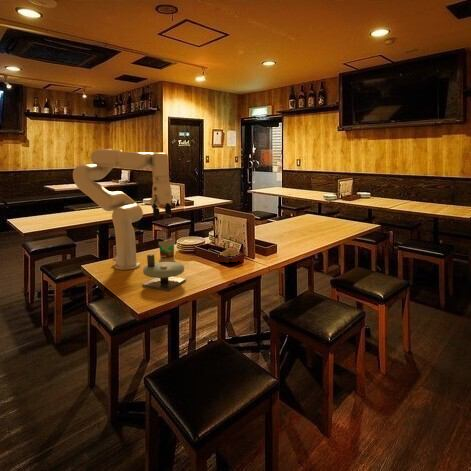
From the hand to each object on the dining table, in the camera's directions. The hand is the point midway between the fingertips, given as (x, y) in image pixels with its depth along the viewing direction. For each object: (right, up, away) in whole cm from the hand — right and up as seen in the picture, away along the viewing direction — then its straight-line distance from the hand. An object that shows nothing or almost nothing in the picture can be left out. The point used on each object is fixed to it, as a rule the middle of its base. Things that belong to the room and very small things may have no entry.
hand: (162, 215), depth 177 cm
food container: (-2, -22, +31) cm, 38 cm away
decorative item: (+32, -24, +22) cm, 46 cm away
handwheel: (+3, -26, -12) cm, 29 cm away
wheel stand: (+3, -32, -11) cm, 34 cm away
